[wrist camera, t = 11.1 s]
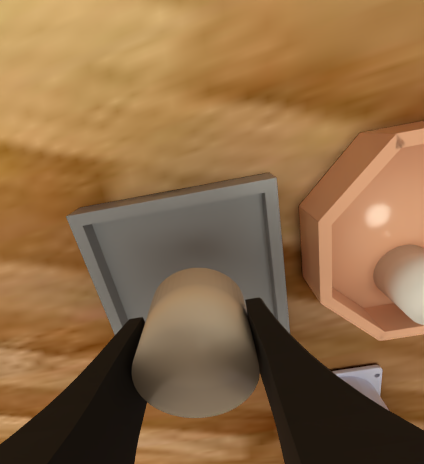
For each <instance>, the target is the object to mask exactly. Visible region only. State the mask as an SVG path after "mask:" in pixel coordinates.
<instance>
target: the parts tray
mask: <svg viewBox="0 0 424 464" xmlns="http://www.w3.org/2000/svg"><path fill="white" fill-rule="evenodd" d="M66 218H67V220H68V223H69V225H70V227H71V230H72V232H73V235H74V237H75V239H76V242H77V244H78V247H79V249H80V252H81V254H82V256H83V259H84V261H85V264H86V266H87V268H88V271H89V273H90V276H91V278H92V281H93V283H94V285H95V288H96V290H97V293H98V295H99V298H100V300H101V302H102V305H103V307H104V310H105V312H106V314H107V317H108V319H109V322H110V324H111V327H112V329H113V331H114V334H115V335H116V334H117V333H118V331H119V330H120V329H121V328H122V327H123V326H124V324H125V323H126V322H127V321H128V320H129V319H133V318H139V317H143V318H144V321H145V322H146V318H147V315H148V312H149V309H150V306H151V302H152V299H153V296H154V294H155V291H156V290H157V288H158V286H159V285H160V284H161V283H162V282H163V281H164V280H165V279H166V278H167V277H169V276H170V275H172V274H174V273H176V272H178V271H181V270H185V269H189V268H208V269H212V270H216V271H218V272H221V273H223V274H225V275H226V276H228V277H229V278H231V279H232V280H233V281H234V282H235V283H236V284H237V285H238V287H239V288H240V290H241V292H242V294H243V297H244V301H245V300H246V299H252V298H258V297H260V298H261V299H262V300H263V301H264V303H265V304H266V306H267V307H268V309H269V310H270V311H271V313H272V314H273V315H274V316H275V318H276V319H277V320H278V321H279V322H280V324H281V325H282V326H283V327H284V328H285V329H286V330H287V331H288V332H289V333H290V328H289V316H288V305H287V293H286V281H285V270H284V258H283V247H282V235H281V224H280V212H279V201H278V189H277V178H276V177H275V176H273V175H272V174H270V173H264V174H259V175H254V176H248V177H243V178H237V179H232V180H227V181H221V182H216V183H210V184H205V185H200V186H194V187H189V188H183V189H178V190H173V191H167V192H162V193H156V194H151V195H146V196H140V197H135V198H129V199H124V200H119V201H113V202H108V203H102V204H97V205H92V206H86V207H81V208H79V209H77V210H75V211H74V212H72V213H71V214H69V215H67V216H66ZM245 305H246V302H245ZM246 309H247V308H246Z"/></svg>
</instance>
